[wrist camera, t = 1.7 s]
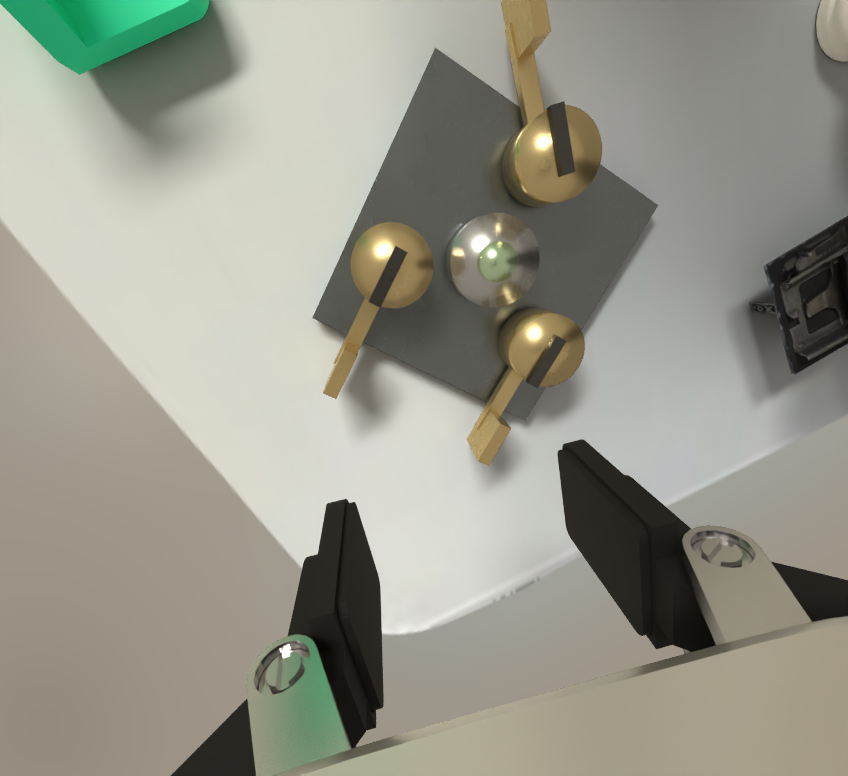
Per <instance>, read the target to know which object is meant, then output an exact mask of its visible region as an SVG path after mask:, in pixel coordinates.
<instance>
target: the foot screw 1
mask: <svg viewBox="0 0 848 776" xmlns="http://www.w3.org/2000/svg"><path fill="white" fill-rule="evenodd" d="M351 274H352V277H353V280H354V283H355V285H356V287H357V288H358V290H359V291H360V293H361V294H362V295H363V296H364V297H365V299H364V301H363V303H362V305H361V307H360V309H359V311H358V313H357V315H356V317H355V319H354V321H353V324H352V326H351V328H350V330H349V332H348V334H347V336H346V338H345V340H344V342H343V344H342V346H341V349H340V351H339V353H338V355H337V357H336V359H335V361H334V364H335V365H334V367H333V369H332V371H331V373H330V375H329V377H328V380H327V383H326V386H325V389H324V392H323V393H324V394H326V395H328V396H331V397H333V398H335V399H336V398H337V396H338V394H339V392H340V390H341V388H342V386H343V384H344V382H345V380H346V378H347V376H348V374H349V372H350V370H351V368H352V366H353V364H354V362H355V360H356V357H357V354H358V350H359V348H360V346H361V344H362V342H363V340H364V338H365V336H366V334H367V332H368V330H369V328H370V326H371V324H372V322H373V320H374V318H375V316H376V314H377V312H378V310H379V308H381V307H385V308H401V307H405V306H407V305H410V304H412V303H413V302H415V301H416V300H418V299H419V298H420V297H421V296H422V295H423V294H424V293H425V291H426V290H427V288H428V286H429V284H430V282H431V279H432V275H433V258H432V253H431V250H430V248H429V246H428V244H427V242H426V241H425V239H424V238H423V237H422V236H421V235H420V234H419V233H418V232H417V231H416V230H414V229H413V228H411V227H409V226H407V225H404V224H401V223H396V222H387V223H381V224H378V225H376V226H373V227H372V228H370V229H368V230H367V231H366V232H364V233H363V235H362V236H361V237H360V238H359V239H358V241H357V242H356V244H355V246H354V249H353V251H352V256H351Z"/></svg>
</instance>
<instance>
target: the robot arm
mask: <svg viewBox="0 0 848 776" xmlns="http://www.w3.org/2000/svg"><path fill="white" fill-rule="evenodd" d="M558 462H559V471H560V479H561V488H562V496H563V505H564V514H565V522H566V528H567V531H568V534H569V536H570V538H571V539H572V541H573V542H574V543H575V545H576V546H577V548H578V549H579V551H580V552H581V553H582V555H583V556H584V558H585V559H586V561H587V562H588V563H589V565H590V566H591V568H592V569H593V571H594V572H595V573H596V575H597V576H598V578H599V579H600V580H601V582H602V583H603V585H604V586H605V588H606V589H607V591H608V592H609V593H610V595H611V596H612V598H613V599H614V601H615V602H616V603H617V605H618V606H619V608H620V609H621V611H622V612H623V613H624V615H625V616H626V618H627V619H628V620H629V622H630V623H631V625H632V626H633V628H634V629H635V630H636V632H637V633H638V634H639V635H641V636H643V635H646V636H647V637H648V638H649V639H650V641H651V642H652V644H653V645H654V646H655V648H656V649H659V648H662V647H665V646H669V645H675V646H677V647H680V648H683V650H684V654H683V655H680V656H676V657H672V658H669V659H665V660H662V661H658V662H654V663H651V664H647V665H644V666H640V667H636V668H633V669H629V670H625V671H622V672H618V673H614V674H611V675H607V676H604V677H600V678H597V679H593V680H589V681H586V682H582V683H579V684H575V685H572V686H568V687H564V688H561V689H557V690H554V691H551V692H547V693H543V694H540V695H536V696H533V697H529V698H526V699H522V700H518V701H515V702H511V703H508V704H504V705H501V706H497V707H494V708H490V709H487V710H483V711H480V712H476V713H473V714H469V715H466V716H463V717H459V718H455V719H452V720H449V721H446V722H442V723H438V724H435V725H431V726H428V727H424V728H421V729H417V730H414V731H410V732H407V733H403V734H400V735H397V736H393V737H390V738H386V739H383V740H380V741H376V742H373V743H369V744H366V745H363V746H360V747H357V746H356V744H357V743H358V742H359V740H360V739H361V738H362V736H363V735H364V733H365V732H366V730H369V729H373V728H376V710H377V709H380V708H382V707H383V666H382V631H381V595H380V582H379V577H378V573H377V570H376V567H375V563H374V560H373V557H372V554H371V551H370V547H369V544H368V541H367V538H366V535H365V531H364V528H363V525H362V522H361V519H360V515H359V512H358V509H357V506H356V504H355V502H353V503H349V502H348V500H347V499H344V500H340V501H336V502H332V503H328V504H327V506H326V511H325V517H324V522H323V528H322V534H321V539H320V545H319V551H318V554H317V555H314V556H310V557H307V558H306V559H305V561H304V564H303V568H302V573H301V577H300V582H299V587H298V591H297V596H296V601H295V605H294V610H293V615H292V619H291V624H290V628H289V633H288V636H286V637H284V638H282V639H280V640H277V641H276V642H274V643H273V644H271V645H270V646H269V647H267V648H266V649H265V650H264V651H263V652H262V653H261V654H260V655H259V656H258V658H257V659H256V660H255V662H254V663H253V665H252V666H251V668H250V671H249V674H248V676H247V684H246V691H247V699H246V701H244V702H243V703H242V704H241V706H239V707H238V709H237V710H235V711H234V712H233V713H232V714H231V716H229V718H228V719H226V721H225V722H224V723H223V724H222V725H221V726H220V727H219V728H218V729H217V730H216V731H215V732H214V733H213V734H212V735H211V736H210V737H209V738H208V739H207V740H206V741H205V742H204V743H203V744H202V745H201V746H200V747H199V748H198V749H197V750H196V751H195V752H194V753H193V754H192V755H191V756H190V757H189V758H188V759H187V760H186V761H185V762H184V763H183V764H182V765H181V766H180V767H179V768H178V769H177V770H176V771H175V772H174V773H173V774H172V775H171V776H848V580H844V579H840V578H836V577H832V576H828V575H824V574H819V573H816V572H811V571H807V570H803V569H799V568H795V567H791V566H787V565H782V564H778V563H774V562H771V561H770V560H769V558H768V557H767V555H766V554H765V553H764V551H763V550H762V548H761V547H760V546H759V545H758V544H757V543H756V542H755V541H754V540H753V539H751V538H750V537H748V536H747V535H745V534H743V533H740V532H738V531H736V530H733V529H729V528H725V527H721V526H709V525H708V526H699V527H696V528H693V529H691V528H690V527H688V526H687V525H686V524H685V523H684V522H683V521H681V520H680V519H679V518H678V517H677V516H675V515H674V514H673V513H672V512H671V511H670V510H669V509H667V508H666V507H665V506H664V505H663V504H662V503H661V502H659V501H658V500H657V499H656V498H655V497H654V496H652V495H651V494H650V493H649V492H648V491H647V490H645V489H644V488H643V487H642V486H641V485H640V484H638V483H637V482H636V481H635V480H634V479H633V478H631V477H630V476H627V475H623V474H622V473H621V472H620V471H619V470H618V469H617V468H616V467H614V466H613V465H612V464H611V463H610V462H609V461H608V460H606V459H605V458H604V457H603V456H602V455H601V454H600V453H598V452H597V451H596V450H595V449H594V448H593V447H592V446H590V445H589V444H588V443H587V442H586V441H585V440H578V441H574V442H570V443H566V444H564V445H563V448H562V450H559V451H558Z"/></svg>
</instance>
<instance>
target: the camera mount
mask: <svg viewBox="0 0 848 776" xmlns="http://www.w3.org/2000/svg"><path fill="white" fill-rule="evenodd" d="M0 4H1V5H2V6H3V7H4V8H5V9H6V10H7V11H8V12H9V13H10V14H11V15H12V16H13V17H14V18H15V19H16V20H17V21H18V22H19V23H20V24H21V25H22V26H23V27H24V28H25V29H26V30H27V31H28V32H29V33H30V34H31V35H32V36H33V37H34V38H35V39H36V40H37V41H38V42H39V43H40V44H41V45H42V46H43V47H44V48H45V49H46V50H47V51H48V52H49V53H50V54H51V55H52V56H53V57H54V58H55V59H56V60H57V61H58V62H60V63H61V64H63V65H65V66H66V67H68V68H70V69H71V70H73V71H74V72H76V73H78V74H79V75H80V74H82V73H84V72H87V71H89V70H91V69H93V68H95V67H98V66H100V65H102V64H104V63H106V62H108V61H111V60H113V59H115V58H117V57H119V56H122V55H124V54H126V53H128V52H130V51H132V50H135V49H137V48H139V47H141V46H143V45H146V44H148V43H150V42H152V41H154V40H157V39H159V38H161V37H163V36H165V35H167V34H170V33H172V32H174V31H176V30H178V29H181V28H183V27H185V26H187V25H189V24H191V23H194V22H196V21H198V20H200V19H201V18H202V17H204V15H205V14H206V12H207V10H208V7H209V0H0Z"/></svg>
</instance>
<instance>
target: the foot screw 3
mask: <svg viewBox="0 0 848 776" xmlns="http://www.w3.org/2000/svg"><path fill="white" fill-rule="evenodd" d="M584 350H585V343H584V337H583V334H582V332H581V330H580V328H579V327H578V325H577V324H576V323H575V322H574V321H572V320H571V319H569V318H567V317H565V316H562V315H559V314H556V313H553V312H550V311H547V310H544V309H540V308H528V309H524V310H521V311H519V312H517V313H516V314H514V315H513V316H512V317H511V318H509V319H508V321H507V322H506V323H505V325H504V326H503V328H502V330H501V333H500V336H499V352H500V355H501V357H502V359H503V361H504V362H505V364H506V365H507V366H508V369H507V370H506V372H505V374H504V375H503V377H502V379H501V381H500V382H499V384H498V386H497V387H496V389H495V391H494V392H493V394H492V396H491V398H490V399H489V401H488V403H487V404H486V406H485V408H484V409H483V411H482V413H481V415H480V416H479V418H478V420H477V421H476V423H475V426H474V428H473V430H472V431H471V433H470V435H469V436H468V438H467V441H468V443H469V445H470V447H471V449H472V451H473V453H474V455H475V457H476V458H477V460H478V461H479V462H481V463H484V464H486V465H488V466H489V464H490V462H491V461H492V459H493V457H494V456H495V454H496V453H497V451H498V449H499V448H500V446H501V444H502V443H503V441H504V440H505V438H506V436H507V435H508V433H509V431H510V430H511V428H510V427H509V426H508V424H507V423H506V422H505V420H504V419H503V418H502V417H501V414H502V413H503V411H504V409H505V408H506V406H507V404H508V403H509V401H510V399H511V398H512V396H513V394H514V393H515V391H516V389H517V388H518V386H519V384H520V383H521V381H522V379H524V380H525V381H526V382H527V383H528V384H530V385H532V386H534V387H536V388H538V387H539V386H540V387H549V386H554V385H557V384H560V383H562V382H564V381H565V380H567V379H568V378H569V377H571V376H572V375H573V374H574V372H575V371H576V370H577V369H578V367H579V365H580V363H581V361H582V359H583V355H584Z"/></svg>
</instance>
